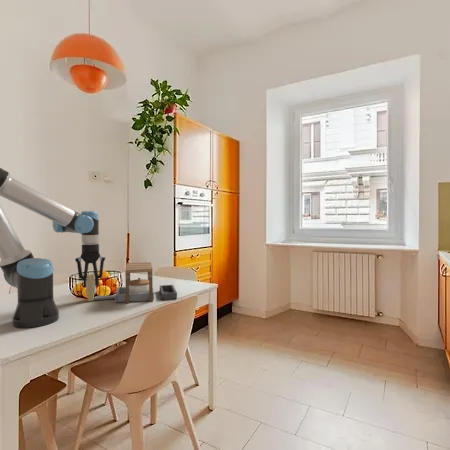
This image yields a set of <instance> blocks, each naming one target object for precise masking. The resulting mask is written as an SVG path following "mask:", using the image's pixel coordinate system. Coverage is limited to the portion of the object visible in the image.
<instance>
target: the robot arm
mask: <svg viewBox="0 0 450 450" xmlns="http://www.w3.org/2000/svg"><path fill="white" fill-rule="evenodd" d="M0 197H2V198H4V199H7V200H8V201H11V202H13V203H15V204H17V205H19V206H21V207H23V208H25V209H27V210H29V211H32V212H33V213H36V214H38V215H40V216H42V217H44V218H46V219H48V220H49V221H52V228H53V231H54V232H55V233H61V234H62V233H71V234H72V233H73V234H75V233H76V234H80V235H81V254H80V256H79V257H76V258H75V259H74V260H75V262H76V265H77V272H78V278H79V279H80V280H83V287H85V294H86V295H88V292H87V275H88V274H89V273H88V272H89V265H90V264H92V267H93V273H94V277H95V279H94V280H93V285H94V293H95V294H96V293H97V287H98V286H99V279H101V278H102V277H103V272H104V265H105V264H104V263H105V261H106V257H105V256H102V255H101V254H100V244H99V242H100V232H99V231H100V230H99V229H100V227H99V224H100V223H99V221H100V217H99V213H98V211H95V210H93V211H92V210H91V211H89V210H88V211H87V210H84V211H81V213H79V212H78V211H76V210H74V209H72V208H70V207H68V206H66V205H64V204H63V203H61V202H59V201H57V200H55V199H53V198H52V197H50V196H47V195H45V194H43V192H40V191H38V190H36V189H34V188H33V187H31V186H29V185H28V184H25V183H23V182H21V180H20V181H19V180H18V179H16V178H14V177H12V176H11V172H9V171H6V170H5V169H3V168H1V167H0ZM82 260H83V262H84V271H83V269H82V263H81V261H82ZM98 261H100V263H99V264H100V265H99V272H98V267H97V266H98V265H97V262H98ZM0 269H1V271H2V273H3V277H4V281H6V283H7V284H8V285H10V286H11V287H13V288H15V289H17V305H16V307H15V311H14V313H13V317H12V326H13V327H14V326H15V327H14V328H22V329H23V328H24V329H25V328H27V329H28V328H29V327H30V328H37V327H42V326H47V325H49V324H53V323H54V322H56V321H58V320H59V319H60V315H59V314H60V312H59V309H58V307H57V304H56V302H55V300H54V265H53V262H52V261H51V260H50V259H49V258H48V259H47V258H42V257H41V258H40V257H34V255H33V253H32V251H31V250H28V249H25V247H24V246H23V244H22V242H21V240H20V238H19V236H18V235H17V232H16V231H15V228H14V227H13V225H12V224H11V222H10V219H9V218H8V216H7V213H5V210H4V209H3V207H2V205H1V204H0Z"/></svg>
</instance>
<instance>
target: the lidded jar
mask: <svg viewBox="0 0 450 450" xmlns="http://www.w3.org/2000/svg"><path fill="white" fill-rule="evenodd" d="M129 293H130V294H135V293H149V280H148V278H147V279H145V278H141V277H138V278H137V279H130V281H129Z"/></svg>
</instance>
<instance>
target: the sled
mask: <svg viewBox="0 0 450 450" xmlns="http://www.w3.org/2000/svg"><path fill="white" fill-rule="evenodd" d="M94 279H95V275H94V272H93V273H87V292H88V294H87V302H94V301H100V300H101V301H104V300H114V302H115V303H122V302H123V303H126V286H123V287H122V286H121V287H120V286H119V287H118V286H117V287H116V291H115V294H113V295H111V294H110V295H97V296H95V297H94V285H93V280H94ZM154 300H155V292H154V291H153V301H154ZM139 301H149V293H135V294H130V293H129V302H139Z"/></svg>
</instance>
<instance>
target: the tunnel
mask: <svg viewBox="0 0 450 450" xmlns="http://www.w3.org/2000/svg"><path fill="white" fill-rule="evenodd" d="M124 273H125V287H126V302H125V304H130V301H129V281H131V274H138V273H147V280H149V300H148V301H149V302H151V303H152V302H154V300H153V292H154V288H153V265H152V262H151V261H149V262H148V261H144V262H127V263H126V265H125V272H124Z"/></svg>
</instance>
